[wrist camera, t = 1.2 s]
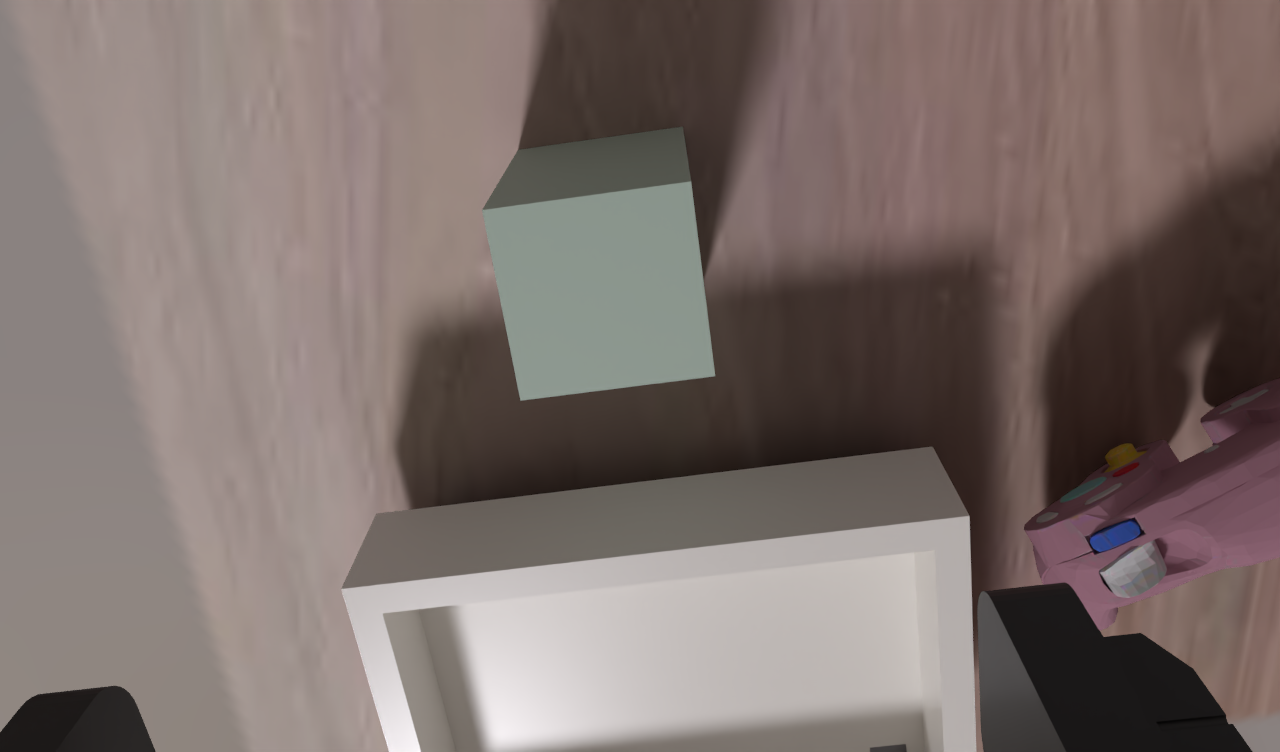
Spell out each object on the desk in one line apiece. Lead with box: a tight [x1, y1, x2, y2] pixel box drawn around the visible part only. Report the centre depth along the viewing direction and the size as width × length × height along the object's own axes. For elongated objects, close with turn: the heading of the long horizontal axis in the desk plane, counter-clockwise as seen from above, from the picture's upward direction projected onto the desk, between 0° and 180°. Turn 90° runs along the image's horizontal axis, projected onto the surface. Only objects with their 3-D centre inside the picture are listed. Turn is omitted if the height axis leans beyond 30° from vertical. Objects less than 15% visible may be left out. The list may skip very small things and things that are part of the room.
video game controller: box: [1024, 378, 1280, 630], centre depth 26 cm, size 10×5×7 cm, turn 124°
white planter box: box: [341, 447, 976, 752], centre depth 29 cm, size 15×11×5 cm
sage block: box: [482, 127, 715, 401], centre depth 24 cm, size 4×4×6 cm
